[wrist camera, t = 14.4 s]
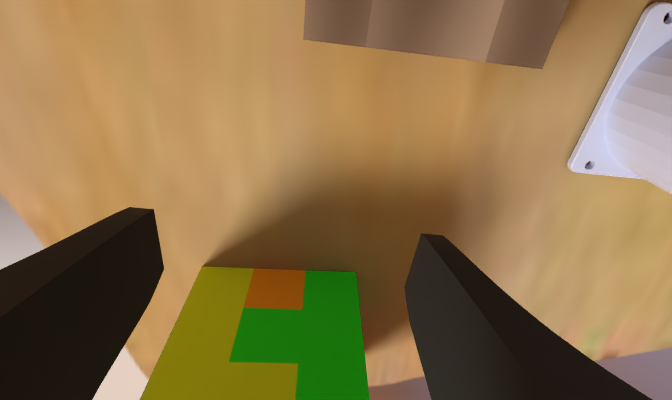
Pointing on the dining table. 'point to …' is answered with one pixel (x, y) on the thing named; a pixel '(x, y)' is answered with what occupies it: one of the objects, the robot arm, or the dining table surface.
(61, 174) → the dining table surface
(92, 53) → the dining table surface
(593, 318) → the dining table surface
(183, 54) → the dining table surface
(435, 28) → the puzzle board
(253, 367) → the puzzle toy
